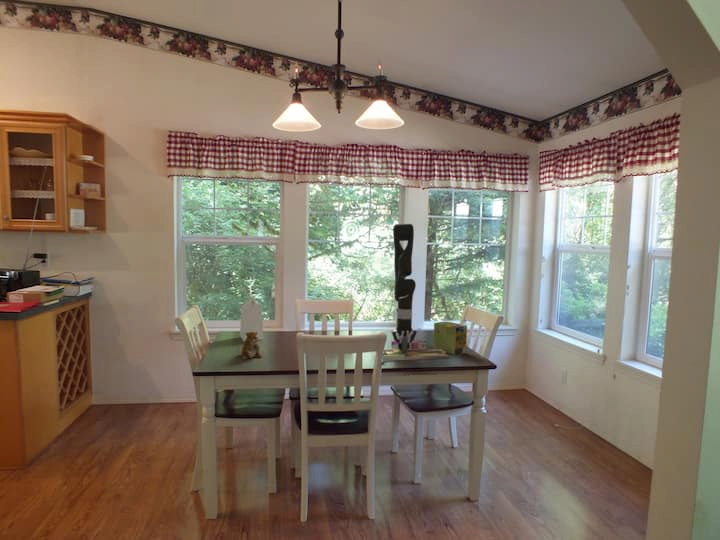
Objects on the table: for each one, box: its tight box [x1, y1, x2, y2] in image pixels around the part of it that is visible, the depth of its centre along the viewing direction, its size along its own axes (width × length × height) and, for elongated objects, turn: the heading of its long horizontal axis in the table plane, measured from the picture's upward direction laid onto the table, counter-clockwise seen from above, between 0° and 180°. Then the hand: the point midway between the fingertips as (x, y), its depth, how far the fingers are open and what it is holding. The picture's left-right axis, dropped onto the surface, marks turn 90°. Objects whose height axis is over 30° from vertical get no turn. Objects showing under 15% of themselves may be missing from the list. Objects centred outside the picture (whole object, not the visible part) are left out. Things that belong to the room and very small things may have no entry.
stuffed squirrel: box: [241, 332, 263, 361], centre depth 230 cm, size 10×14×13 cm
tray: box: [382, 348, 405, 364], centre depth 231 cm, size 12×12×4 cm
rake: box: [400, 336, 408, 356], centre depth 232 cm, size 6×3×11 cm, turn 13°
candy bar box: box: [391, 339, 428, 351], centre depth 244 cm, size 11×5×16 cm
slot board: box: [403, 348, 449, 361], centre depth 235 cm, size 13×24×3 cm, turn 103°
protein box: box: [432, 320, 468, 355], centre depth 247 cm, size 10×15×16 cm
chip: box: [392, 350, 402, 355], centre depth 231 cm, size 4×4×3 cm
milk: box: [239, 294, 264, 342], centre depth 266 cm, size 12×12×26 cm
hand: (403, 349), depth 232 cm, fingers closed on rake, 3 cm apart
